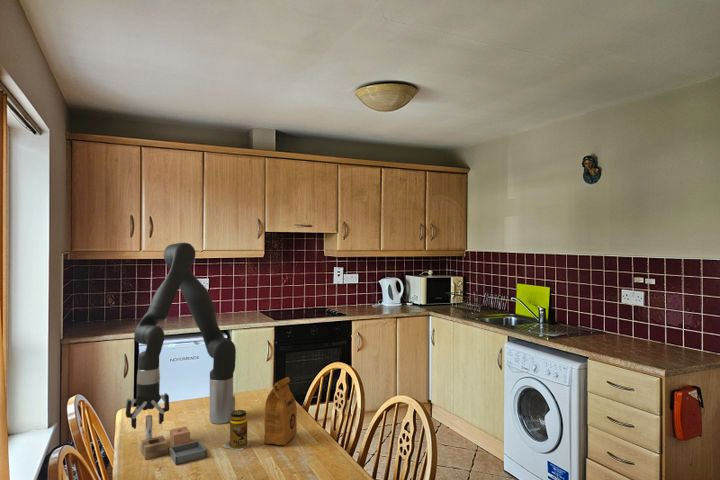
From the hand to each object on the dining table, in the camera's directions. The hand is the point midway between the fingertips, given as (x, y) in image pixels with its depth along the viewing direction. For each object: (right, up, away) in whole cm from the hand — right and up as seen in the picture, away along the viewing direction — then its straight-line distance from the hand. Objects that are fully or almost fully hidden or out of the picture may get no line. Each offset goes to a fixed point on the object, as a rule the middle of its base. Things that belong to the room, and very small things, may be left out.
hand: (147, 425), depth 175 cm
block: (+12, -7, -1) cm, 14 cm away
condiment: (+32, -7, 0) cm, 33 cm away
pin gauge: (+1, -6, 0) cm, 6 cm away
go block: (+6, -7, -7) cm, 11 cm away
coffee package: (+47, -7, +4) cm, 48 cm away
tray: (+18, -7, -9) cm, 21 cm away
